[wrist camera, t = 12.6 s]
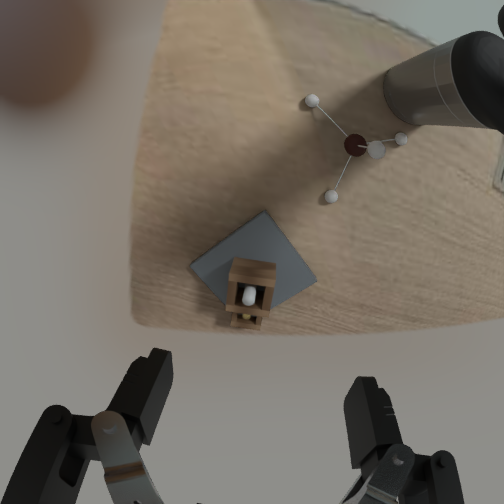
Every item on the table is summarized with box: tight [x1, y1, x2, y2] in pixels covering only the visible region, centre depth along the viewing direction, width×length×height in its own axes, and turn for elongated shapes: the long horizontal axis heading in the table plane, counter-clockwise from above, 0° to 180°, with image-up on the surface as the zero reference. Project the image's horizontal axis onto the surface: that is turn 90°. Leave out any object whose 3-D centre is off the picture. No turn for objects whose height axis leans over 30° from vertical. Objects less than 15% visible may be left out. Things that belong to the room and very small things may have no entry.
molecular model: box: [305, 94, 407, 203], centre depth 29 cm, size 13×15×13 cm
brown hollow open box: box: [226, 257, 276, 330], centre depth 41 cm, size 6×11×5 cm, turn 173°
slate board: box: [190, 210, 317, 317], centre depth 40 cm, size 14×13×7 cm
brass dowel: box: [243, 314, 251, 319], centre depth 43 cm, size 1×1×2 cm
